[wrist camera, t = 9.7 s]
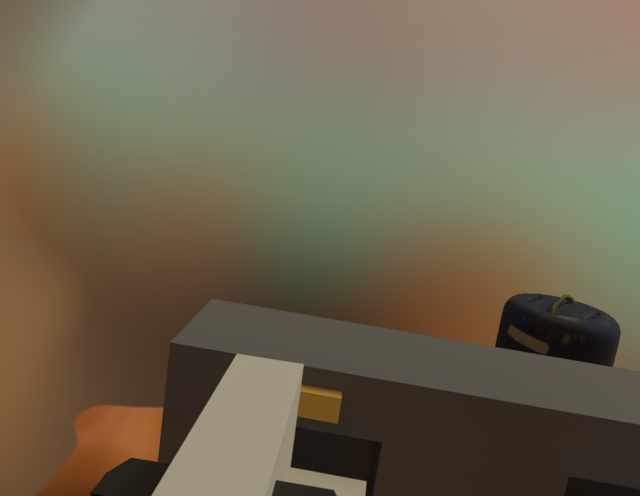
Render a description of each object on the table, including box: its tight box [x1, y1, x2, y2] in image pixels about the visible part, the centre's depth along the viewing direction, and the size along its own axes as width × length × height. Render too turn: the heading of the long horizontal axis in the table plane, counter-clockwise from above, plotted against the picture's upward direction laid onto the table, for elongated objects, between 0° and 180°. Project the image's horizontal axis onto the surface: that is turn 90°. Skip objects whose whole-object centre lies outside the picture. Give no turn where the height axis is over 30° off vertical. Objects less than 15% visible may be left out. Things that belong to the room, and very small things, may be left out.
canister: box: [495, 293, 620, 367], centre depth 52 cm, size 10×10×18 cm
